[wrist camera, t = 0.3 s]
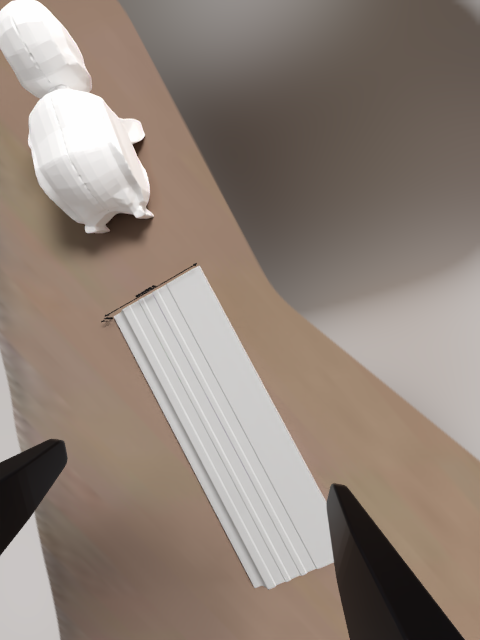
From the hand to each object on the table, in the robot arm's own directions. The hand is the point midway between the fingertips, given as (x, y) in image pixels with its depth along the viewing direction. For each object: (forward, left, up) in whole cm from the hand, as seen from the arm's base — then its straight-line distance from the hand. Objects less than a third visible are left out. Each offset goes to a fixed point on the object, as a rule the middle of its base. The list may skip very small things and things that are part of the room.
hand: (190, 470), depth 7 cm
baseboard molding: (-6, -3, -16) cm, 18 cm away
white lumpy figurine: (+6, +24, -16) cm, 29 cm away
